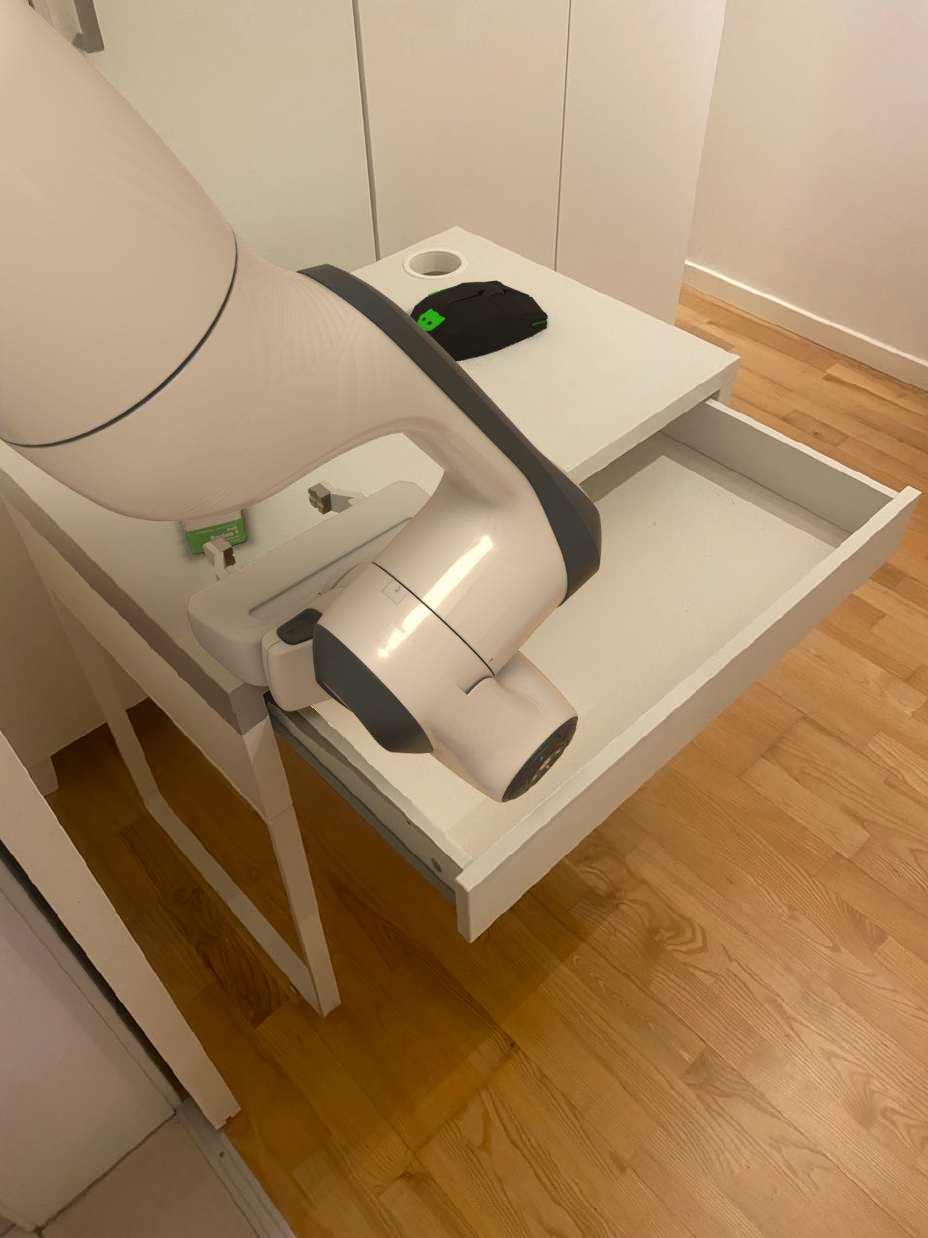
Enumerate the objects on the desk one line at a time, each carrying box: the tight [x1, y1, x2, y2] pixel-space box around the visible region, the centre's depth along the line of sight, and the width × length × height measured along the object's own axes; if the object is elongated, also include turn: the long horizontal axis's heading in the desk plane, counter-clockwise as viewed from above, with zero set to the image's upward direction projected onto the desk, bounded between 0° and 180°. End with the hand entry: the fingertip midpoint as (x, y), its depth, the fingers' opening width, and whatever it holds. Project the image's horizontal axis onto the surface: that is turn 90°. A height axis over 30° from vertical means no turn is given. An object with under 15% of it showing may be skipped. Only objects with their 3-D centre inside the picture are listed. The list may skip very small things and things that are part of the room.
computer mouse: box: [409, 279, 549, 362], centre depth 103 cm, size 11×16×4 cm
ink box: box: [181, 510, 247, 555], centre depth 79 cm, size 9×5×12 cm, turn 20°
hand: (265, 517), depth 73 cm, fingers open, 8 cm apart
